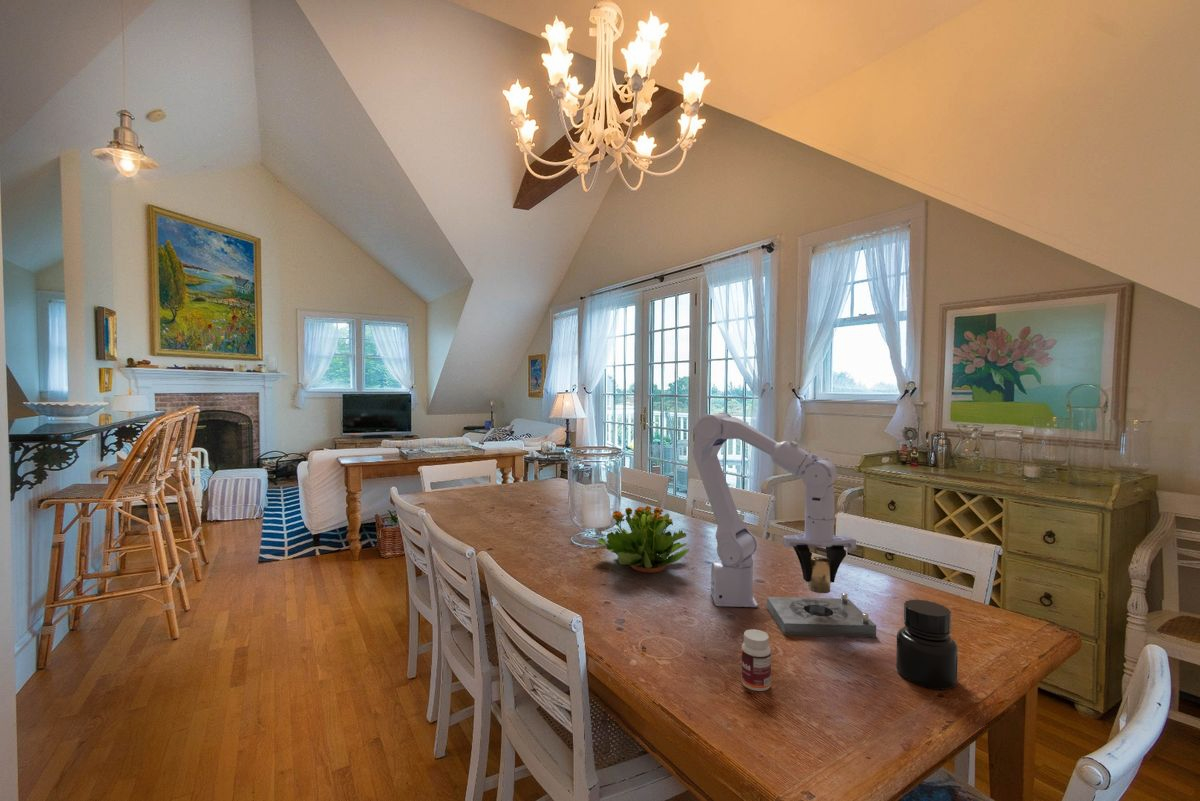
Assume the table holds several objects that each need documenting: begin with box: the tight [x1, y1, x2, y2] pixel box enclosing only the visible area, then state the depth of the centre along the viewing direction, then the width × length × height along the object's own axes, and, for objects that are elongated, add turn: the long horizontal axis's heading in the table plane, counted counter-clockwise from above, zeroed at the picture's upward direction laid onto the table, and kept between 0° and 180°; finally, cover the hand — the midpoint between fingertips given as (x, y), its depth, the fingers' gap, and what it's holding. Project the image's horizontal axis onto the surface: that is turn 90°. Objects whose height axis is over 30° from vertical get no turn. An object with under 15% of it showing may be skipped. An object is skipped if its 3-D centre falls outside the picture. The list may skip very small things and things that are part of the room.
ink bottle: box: [895, 599, 959, 690], centre depth 88 cm, size 10×9×12 cm
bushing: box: [807, 554, 832, 594], centre depth 109 cm, size 4×4×7 cm
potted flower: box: [597, 505, 690, 573], centre depth 142 cm, size 25×24×18 cm
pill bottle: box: [740, 628, 772, 692], centre depth 86 cm, size 5×5×8 cm
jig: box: [766, 592, 877, 639], centre depth 109 cm, size 18×13×4 cm
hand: (818, 580), depth 109 cm, fingers closed on bushing, 4 cm apart
